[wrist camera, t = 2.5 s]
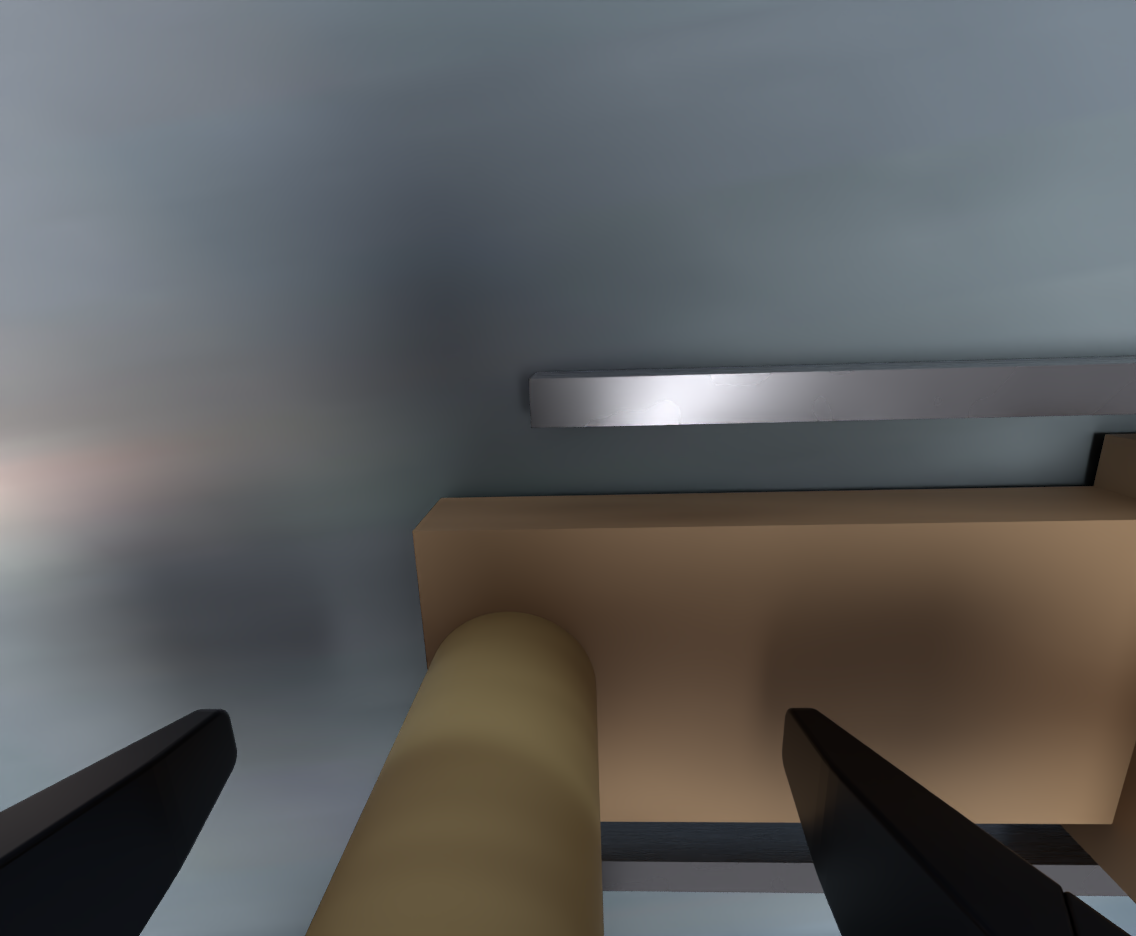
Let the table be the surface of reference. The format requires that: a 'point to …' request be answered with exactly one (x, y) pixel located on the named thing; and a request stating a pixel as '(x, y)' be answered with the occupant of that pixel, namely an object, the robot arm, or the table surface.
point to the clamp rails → (806, 395)
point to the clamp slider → (741, 680)
